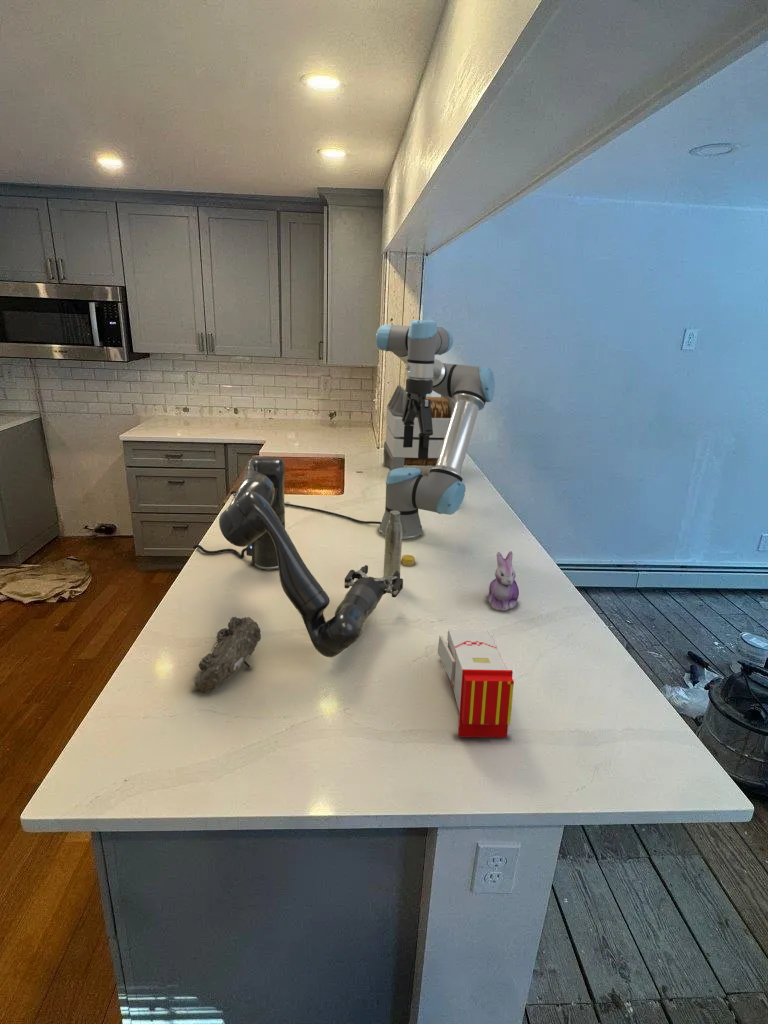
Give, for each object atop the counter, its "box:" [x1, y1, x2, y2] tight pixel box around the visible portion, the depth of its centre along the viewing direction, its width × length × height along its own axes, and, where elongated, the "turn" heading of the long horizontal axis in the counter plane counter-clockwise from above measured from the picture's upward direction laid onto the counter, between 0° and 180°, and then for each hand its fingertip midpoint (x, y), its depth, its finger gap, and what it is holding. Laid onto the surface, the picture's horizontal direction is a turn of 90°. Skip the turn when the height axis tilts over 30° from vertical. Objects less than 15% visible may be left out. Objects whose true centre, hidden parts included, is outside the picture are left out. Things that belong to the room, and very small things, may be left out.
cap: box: [401, 554, 416, 567], centre depth 177 cm, size 4×4×2 cm
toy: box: [437, 628, 515, 738], centre depth 117 cm, size 12×13×30 cm
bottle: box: [382, 510, 403, 584], centre depth 159 cm, size 5×5×22 cm
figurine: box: [487, 550, 520, 612], centre depth 153 cm, size 9×10×15 cm
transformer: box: [383, 384, 462, 475], centre depth 268 cm, size 34×33×41 cm
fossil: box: [194, 616, 262, 693], centre depth 122 cm, size 22×10×15 cm
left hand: (381, 571), depth 150 cm, fingers open, 8 cm apart
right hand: (414, 452), depth 165 cm, fingers open, 13 cm apart
